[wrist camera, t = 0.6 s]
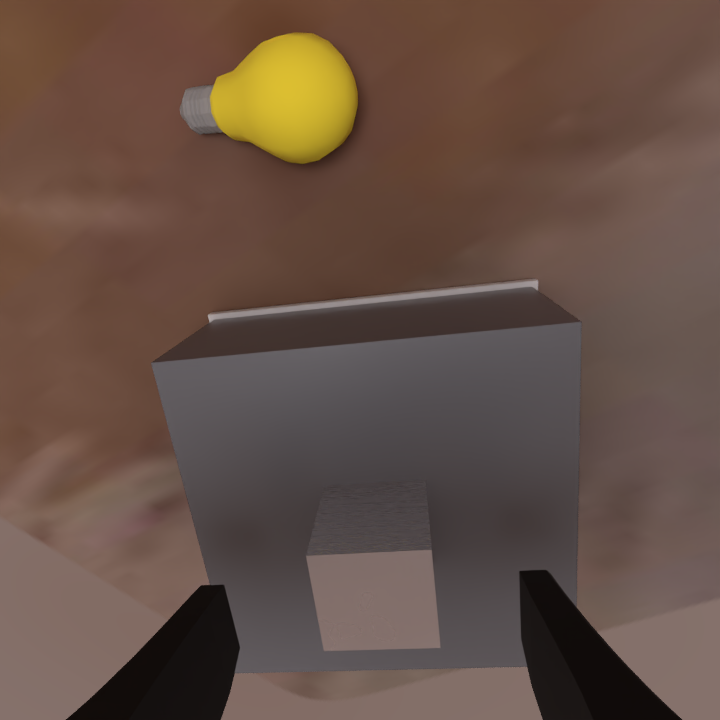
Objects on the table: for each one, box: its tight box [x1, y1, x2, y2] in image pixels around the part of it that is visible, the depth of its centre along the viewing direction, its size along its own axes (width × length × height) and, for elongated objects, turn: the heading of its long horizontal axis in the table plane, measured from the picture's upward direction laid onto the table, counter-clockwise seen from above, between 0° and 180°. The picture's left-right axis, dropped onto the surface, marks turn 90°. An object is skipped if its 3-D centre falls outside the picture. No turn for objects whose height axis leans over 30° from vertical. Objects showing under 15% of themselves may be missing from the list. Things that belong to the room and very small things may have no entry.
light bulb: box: [180, 33, 358, 164], centre depth 15 cm, size 3×6×4 cm, turn 92°
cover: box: [151, 287, 582, 673], centre depth 16 cm, size 12×12×8 cm
